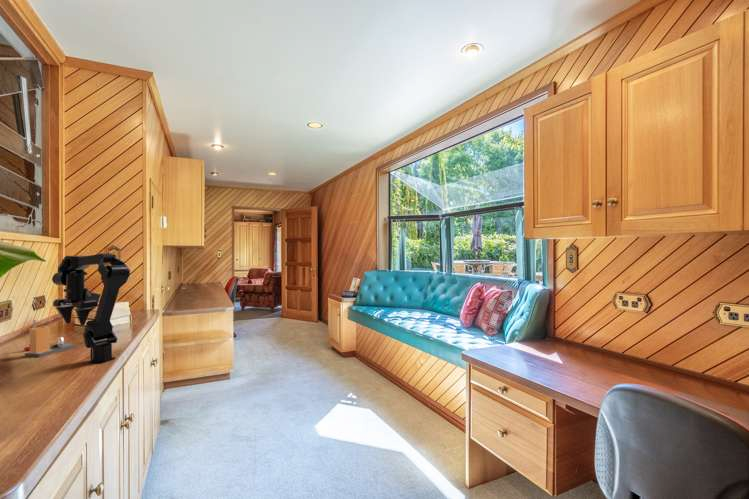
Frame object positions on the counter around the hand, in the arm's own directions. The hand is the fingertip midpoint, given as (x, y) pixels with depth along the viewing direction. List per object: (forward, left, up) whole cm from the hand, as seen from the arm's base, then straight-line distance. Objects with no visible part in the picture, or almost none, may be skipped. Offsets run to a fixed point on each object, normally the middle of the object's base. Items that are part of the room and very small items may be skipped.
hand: (75, 324), depth 143 cm
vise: (+17, -3, -13) cm, 22 cm away
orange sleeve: (+17, +1, -12) cm, 21 cm away
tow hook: (+28, -8, -13) cm, 32 cm away
